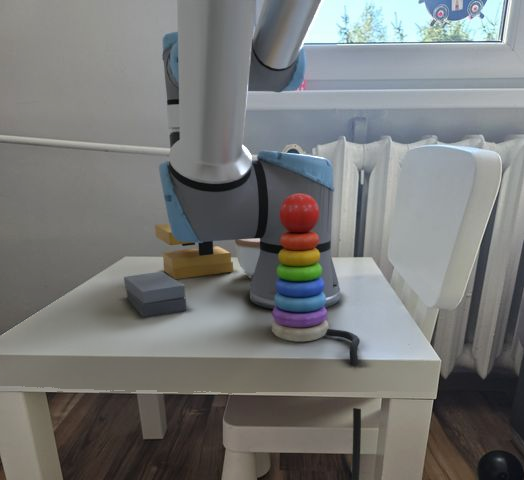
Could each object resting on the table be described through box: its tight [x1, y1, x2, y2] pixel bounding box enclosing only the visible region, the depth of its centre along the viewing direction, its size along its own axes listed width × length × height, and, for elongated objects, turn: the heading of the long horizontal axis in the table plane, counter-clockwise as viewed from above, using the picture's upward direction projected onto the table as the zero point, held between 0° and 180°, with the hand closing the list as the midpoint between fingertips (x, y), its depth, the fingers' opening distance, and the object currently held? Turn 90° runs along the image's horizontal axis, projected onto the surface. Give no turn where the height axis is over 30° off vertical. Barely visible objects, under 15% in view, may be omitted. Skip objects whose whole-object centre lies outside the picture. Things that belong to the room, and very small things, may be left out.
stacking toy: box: [271, 193, 330, 343], centre depth 66 cm, size 8×8×19 cm
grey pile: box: [123, 271, 187, 318], centre depth 82 cm, size 11×7×4 cm, turn 27°
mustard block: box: [154, 223, 198, 246], centre depth 100 cm, size 14×10×2 cm
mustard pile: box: [162, 246, 234, 280], centre depth 102 cm, size 13×8×4 cm, turn 117°
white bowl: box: [234, 238, 260, 279], centre depth 97 cm, size 11×11×9 cm
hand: (197, 249), depth 102 cm, fingers closed on mustard block, 10 cm apart
